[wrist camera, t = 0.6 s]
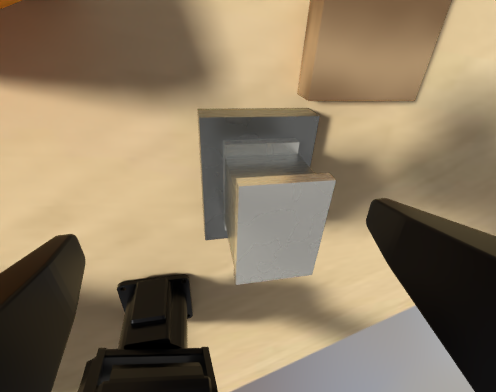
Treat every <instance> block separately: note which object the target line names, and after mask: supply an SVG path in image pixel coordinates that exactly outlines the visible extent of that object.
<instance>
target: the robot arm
mask: <svg viewBox="0 0 496 392" xmlns="http://www.w3.org/2000/svg"><path fill="white" fill-rule="evenodd" d="M366 224H367V227H368V229H369V231H370V233H371V235H372V236H373V238H374V240H375V242H376V244H377V246H378V247H379V249H380V251H381V253H382V255H383V257H384V258H385V260H386V262H387V263H388V265H389V267H390V268H391V270H392V271H393V273H394V274H395V276H396V277H397V279H398V280H399V282H400V283H401V284H402V286H403V287H404V289H405V290H406V292H407V293H408V295H409V296H410V298H411V299H412V300H413V302H414V303H415V305H416V306H417V308H418V309H419V311H420V312H421V314H422V315H423V317H424V318H425V319H426V321H427V322H428V324H429V325H430V327H431V328H432V330H433V331H434V333H435V334H436V336H437V337H438V338H439V340H440V341H441V343H442V344H443V345H444V347H445V349H446V350H447V352H448V353H449V354H450V356H451V357H452V359H453V360H454V362H455V363H456V365H457V366H458V368H459V369H460V371H461V372H462V374H463V375H464V376H465V378H466V379H467V381H468V382H469V384H470V385H471V386H472V388H473V390H474V391H475V392H496V236H493V235H490V234H487V233H485V232H482V231H479V230H476V229H473V228H470V227H467V226H465V225H462V224H459V223H456V222H453V221H450V220H447V219H444V218H442V217H439V216H436V215H433V214H430V213H427V212H424V211H421V210H419V209H416V208H413V207H410V206H407V205H404V204H401V203H399V202H396V201H393V200H390V199H387V198H381V199H375V200H373V201H372V202H371V205H370V208H369V211H368V215H367V218H366ZM84 268H85V256H84V253H83V251H82V249H81V246H80V244H79V241H78V239H77V237H76V236H75V235H73V234H66V235H58V236H55V237H54V238H52V239H51V240H49V241H48V242H46V243H45V244H43V245H42V246H40V247H39V248H37V249H36V250H34V251H33V252H31V253H30V254H28V255H27V256H25V257H24V258H22V259H21V260H19V261H18V262H16V263H15V264H13V265H12V266H10V267H9V268H7V269H6V270H5V271H3V272H2V273H0V392H51V390H52V387H53V384H54V381H55V378H56V375H57V372H58V368H59V365H60V362H61V359H62V356H63V353H64V350H65V347H66V343H67V340H68V337H69V334H70V331H71V328H72V325H73V321H74V318H75V314H76V309H77V305H78V299H79V294H80V289H81V284H82V279H83V274H84ZM123 287H124V288H123ZM117 291H118V294H119V297H120V300H121V303H122V306H123V309H124V312H125V316H124V321H123V326H122V331H121V336H120V341H119V346H118V349H106V348H99V349H98V352H97V356H96V357H95V358H94V359H92V360H90V361H88V362H87V364H86V367H85V370H84V374H83V377H82V381H81V384H80V387H79V390H78V392H218V390H217V385H216V381H215V376H214V371H213V367H212V362H211V358H210V353H209V348H208V347H202V348H187V319H188V318H191V317H192V316H193V312H192V302H191V293H190V284H189V277H188V276H187V275H177V276H169V277H161V278H153V279H145V280H136V281H128V282H121V283H119V284H118V287H117Z"/></svg>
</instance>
